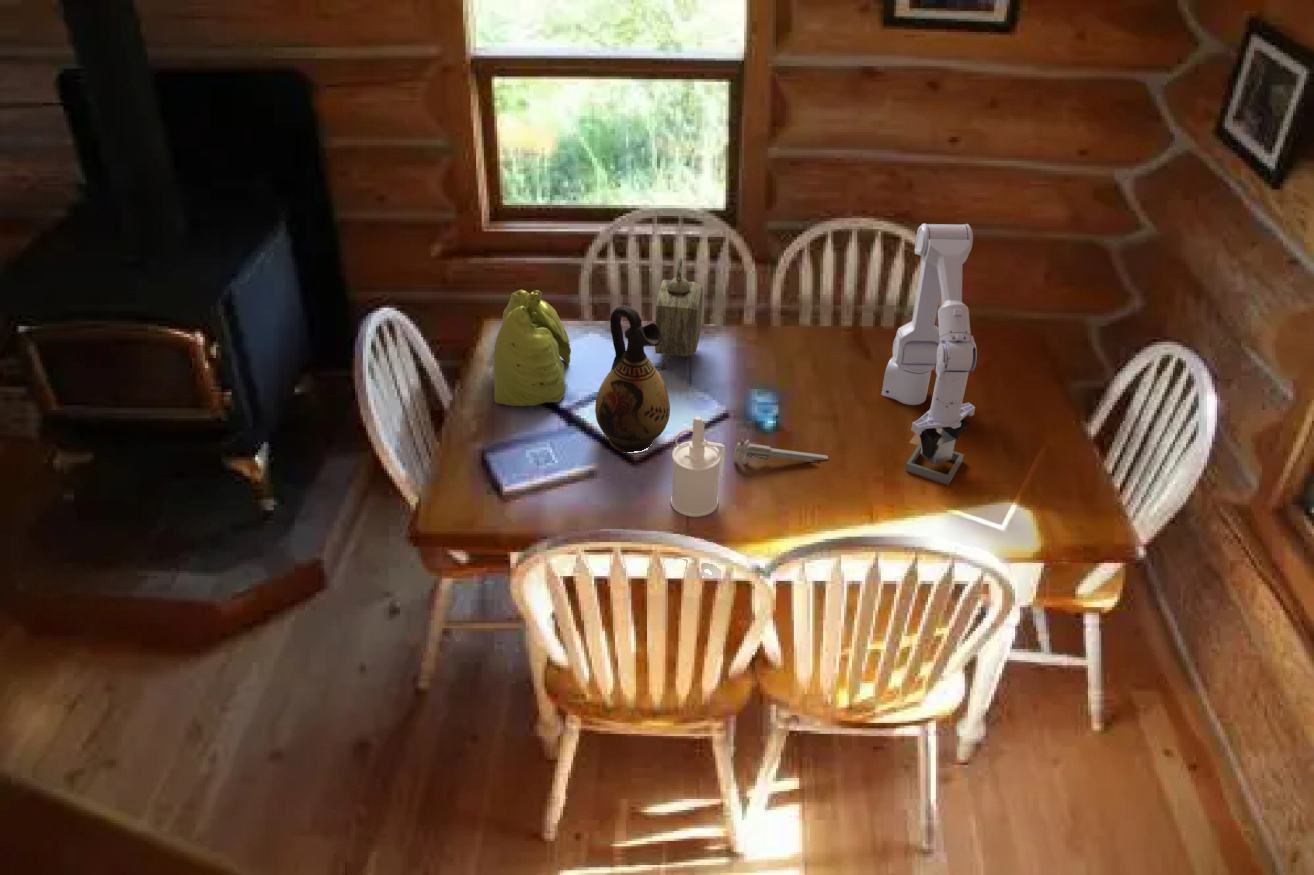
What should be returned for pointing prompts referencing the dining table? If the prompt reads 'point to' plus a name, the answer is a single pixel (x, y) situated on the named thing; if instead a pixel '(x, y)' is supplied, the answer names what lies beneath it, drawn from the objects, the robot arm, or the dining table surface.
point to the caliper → (771, 453)
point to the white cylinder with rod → (696, 473)
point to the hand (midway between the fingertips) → (936, 452)
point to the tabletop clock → (678, 316)
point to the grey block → (942, 448)
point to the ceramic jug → (632, 387)
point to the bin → (931, 473)
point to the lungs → (530, 352)
